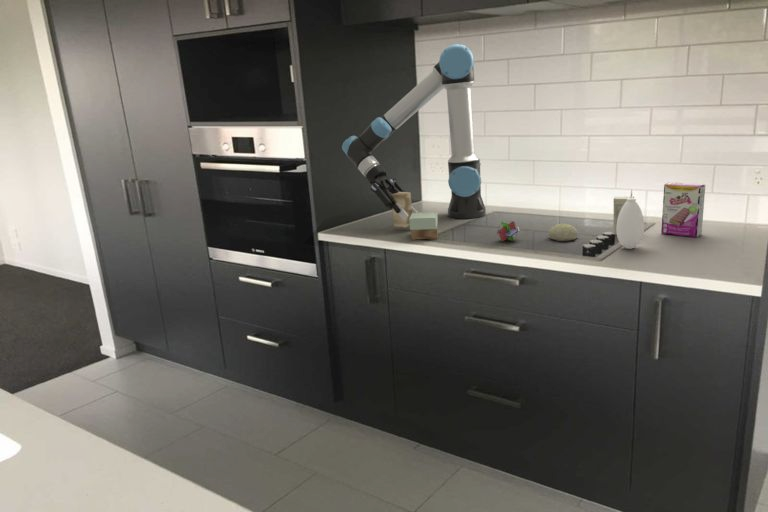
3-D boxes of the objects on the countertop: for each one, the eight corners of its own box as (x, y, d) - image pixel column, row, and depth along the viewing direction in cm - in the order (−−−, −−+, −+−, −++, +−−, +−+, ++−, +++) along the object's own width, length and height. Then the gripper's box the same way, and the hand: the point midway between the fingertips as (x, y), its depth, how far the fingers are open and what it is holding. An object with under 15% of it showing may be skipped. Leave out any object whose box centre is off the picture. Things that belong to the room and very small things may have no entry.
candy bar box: (660, 234, 204) (663, 184, 199) (666, 231, 207) (668, 181, 203) (697, 238, 196) (700, 186, 192) (702, 234, 200) (706, 183, 195)
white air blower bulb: (640, 252, 185) (643, 192, 180) (613, 250, 189) (614, 191, 184) (645, 246, 191) (648, 187, 187) (618, 244, 195) (620, 186, 191)
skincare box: (634, 232, 208) (635, 196, 204) (633, 235, 204) (634, 198, 201) (613, 231, 210) (614, 196, 207) (612, 235, 207) (613, 198, 203)
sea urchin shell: (578, 229, 209) (577, 216, 203) (577, 249, 206) (576, 237, 199) (550, 228, 213) (548, 216, 206) (548, 249, 209) (547, 237, 202)
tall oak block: (402, 223, 236) (399, 191, 233) (412, 224, 233) (410, 192, 230) (394, 226, 232) (391, 194, 229) (404, 227, 229) (402, 194, 226)
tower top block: (437, 223, 224) (437, 212, 223) (435, 229, 216) (435, 217, 215) (412, 223, 226) (412, 213, 225) (410, 229, 217) (409, 218, 216)
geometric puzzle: (500, 239, 203) (512, 217, 203) (488, 235, 209) (500, 214, 209) (515, 249, 206) (527, 228, 206) (502, 244, 212) (514, 224, 212)
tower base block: (437, 233, 226) (437, 223, 225) (437, 240, 217) (437, 228, 216) (412, 234, 227) (412, 224, 226) (411, 241, 218) (411, 229, 217)
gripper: (382, 174, 244) (419, 218, 239) (352, 181, 231) (390, 228, 225) (392, 160, 240) (430, 205, 234) (361, 167, 226) (401, 215, 220)
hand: (410, 216), depth 230 cm, fingers closed on tall oak block, 5 cm apart
